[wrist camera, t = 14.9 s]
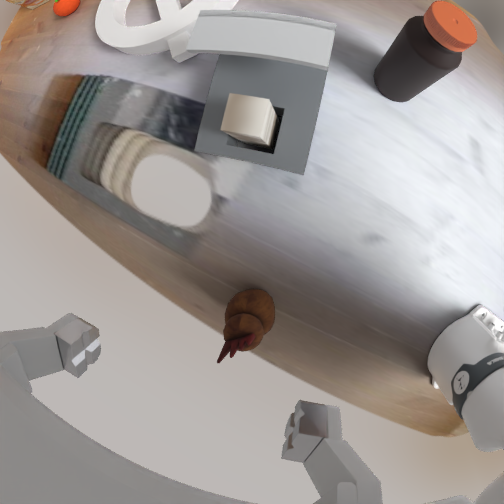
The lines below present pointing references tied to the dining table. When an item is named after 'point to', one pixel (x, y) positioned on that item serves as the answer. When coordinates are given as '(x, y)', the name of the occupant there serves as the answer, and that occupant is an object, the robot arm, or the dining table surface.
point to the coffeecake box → (28, 3)
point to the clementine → (65, 7)
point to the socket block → (264, 78)
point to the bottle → (424, 51)
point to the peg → (251, 120)
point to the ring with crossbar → (154, 27)
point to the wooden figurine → (247, 321)
